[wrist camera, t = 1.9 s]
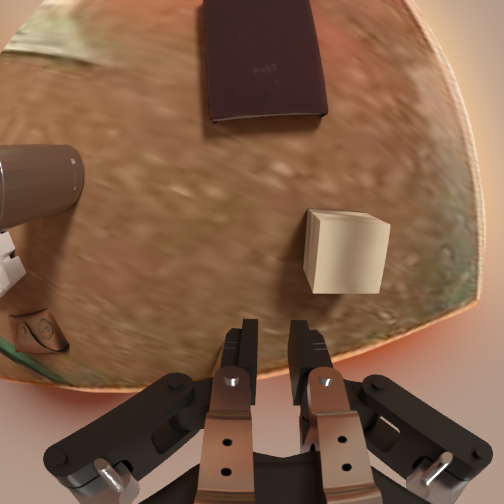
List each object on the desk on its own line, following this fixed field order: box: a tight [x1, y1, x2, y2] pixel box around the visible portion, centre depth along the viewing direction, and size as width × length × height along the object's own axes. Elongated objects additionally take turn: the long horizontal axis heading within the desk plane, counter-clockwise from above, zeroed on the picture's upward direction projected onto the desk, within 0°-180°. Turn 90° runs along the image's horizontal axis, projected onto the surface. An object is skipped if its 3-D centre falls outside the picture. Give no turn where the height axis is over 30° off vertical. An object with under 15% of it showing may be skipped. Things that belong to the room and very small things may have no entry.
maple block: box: [303, 209, 390, 294], centre depth 27 cm, size 7×7×7 cm
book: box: [204, 0, 328, 124], centre depth 23 cm, size 12×19×3 cm, turn 4°
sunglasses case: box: [8, 308, 69, 354], centre depth 37 cm, size 18×7×7 cm, turn 105°
